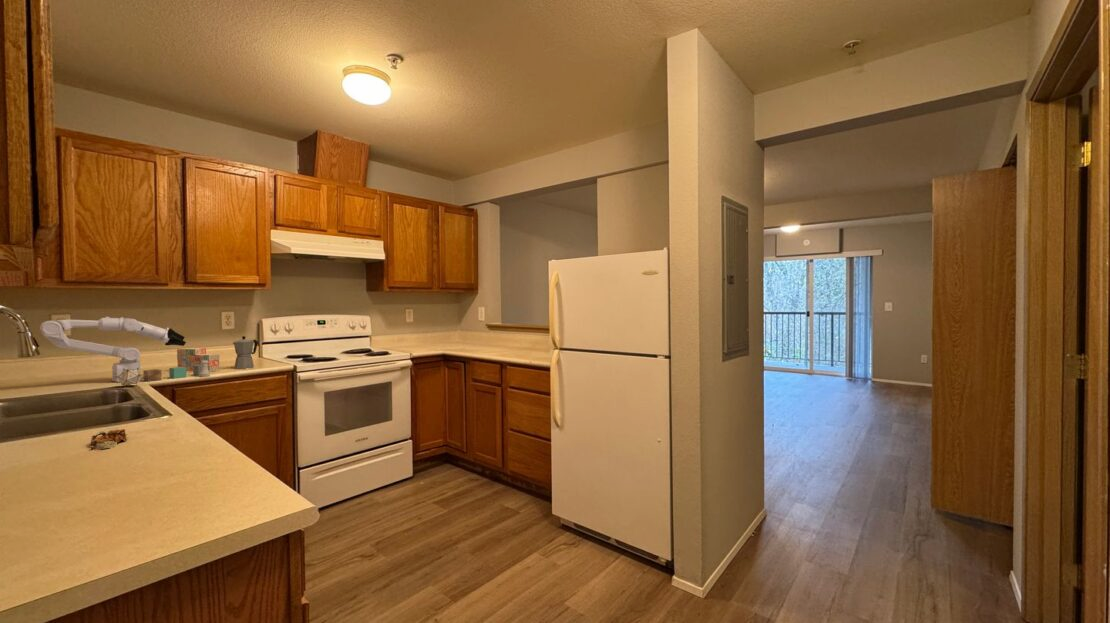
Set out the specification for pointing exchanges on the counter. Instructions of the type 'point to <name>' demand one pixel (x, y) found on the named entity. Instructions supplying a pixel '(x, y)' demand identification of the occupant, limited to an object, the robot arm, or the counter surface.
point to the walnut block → (152, 375)
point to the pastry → (107, 439)
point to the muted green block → (177, 372)
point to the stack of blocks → (196, 358)
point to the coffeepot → (244, 353)
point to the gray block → (198, 369)
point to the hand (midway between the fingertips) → (184, 341)
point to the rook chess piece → (204, 369)
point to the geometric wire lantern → (130, 377)
